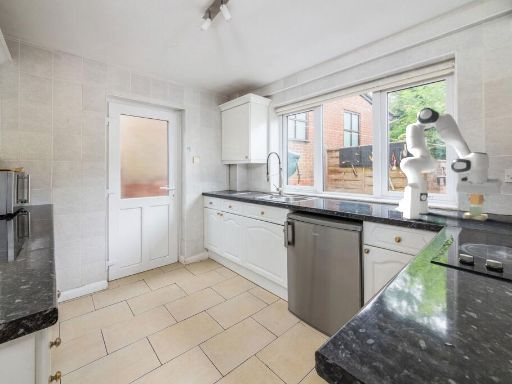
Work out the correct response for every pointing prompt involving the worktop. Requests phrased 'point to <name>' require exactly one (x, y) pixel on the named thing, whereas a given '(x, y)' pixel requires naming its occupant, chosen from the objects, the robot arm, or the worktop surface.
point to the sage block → (475, 210)
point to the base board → (475, 216)
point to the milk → (411, 201)
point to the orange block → (476, 199)
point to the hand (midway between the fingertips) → (476, 201)
